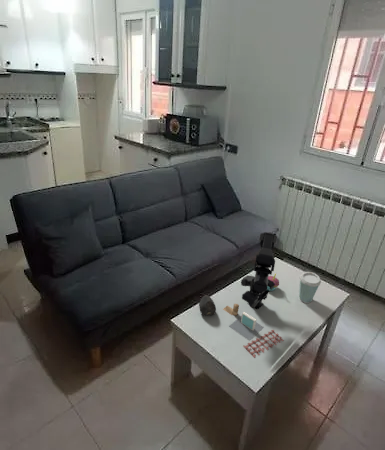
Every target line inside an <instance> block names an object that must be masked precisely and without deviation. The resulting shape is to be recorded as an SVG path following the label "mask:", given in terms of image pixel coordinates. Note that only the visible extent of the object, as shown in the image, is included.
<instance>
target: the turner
mask: <svg viewBox="0 0 385 450" xmlns="http://www.w3.org/2000/svg"><path fill="white" fill-rule="evenodd" d="M239 307H240V305H239V304H238V303H233V307H231V306H229V305H226V306H225V307H224V308H222V310H223V311H225V312H226V313H228V314H229V315H231V316H235V317H236V316H238V314H239Z"/></svg>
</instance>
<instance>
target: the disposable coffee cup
mask: <svg viewBox="0 0 385 450" xmlns="http://www.w3.org/2000/svg"><path fill="white" fill-rule="evenodd" d="M321 283H322V281H321V277H320V276H319V275H318V274H316V272H311V271H304V272H302V274H300V276H299V290H298V293H299V294H298V297H299V300H300V301H301V302H302V303H305V304H309V303H311V302H312V301H313V299H314V296H315V295H316V293H317V291H318V288H319V286H321Z"/></svg>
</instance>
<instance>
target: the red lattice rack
mask: <svg viewBox="0 0 385 450" xmlns="http://www.w3.org/2000/svg"><path fill="white" fill-rule="evenodd" d="M267 332H268V333H264V334H263V335H261V336H259V337H257V338H255V339H256V340H251V342H248V343H247V345H243V346H242V347H243V348H244V349H245V350H246V352H248V353H249V354H250V355H251V356H252V357H253V358H256V354H257V355H258V356H260V355H261V354H260V353H259V352H262V353H263V354H264V353H265V349H266V350H267V351H268V350H269V348H273V346H274V345H275V346H277V344H278V343H279V344H280V343H281V341H282V342H284V339H283V337H282V336H280V335H279V334H278V333H276V332H275V330H274V329H271V330H270V331H267ZM270 335H271V337H270ZM265 338H267V339H265ZM261 340H263V342H262V341H261ZM270 341H271V343H269V342H270ZM257 342H258V343H257ZM253 344H254V345H255V347H254V346H253ZM265 344H267V346H266V345H265ZM261 346H263V347H262V348H261ZM249 347H250V348H249ZM251 350H253V351H251ZM255 353H256V354H255Z"/></svg>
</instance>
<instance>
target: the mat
mask: <svg viewBox="0 0 385 450" xmlns="http://www.w3.org/2000/svg"><path fill="white" fill-rule="evenodd" d="M241 318H242V315H240V316H238V318H237V319H235V321H233V322H232V323H230V324H229V325H228V327H229V328H230V329H231V330H234V331H235V332H236V333H238V334H239V335H240V336H242V337H243V338H245V339H246V340H248V341H252V340H253V338H255V336H257V334H258V333H259V332H261V331H262V330H263V329H264V328H265V327H264V326H263V325H261V324H260V323H258V322H257V321H256V324H255V329H254V330H251V329H250V328H248V327H247V326H245V325H244V324H242V323H241Z"/></svg>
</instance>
